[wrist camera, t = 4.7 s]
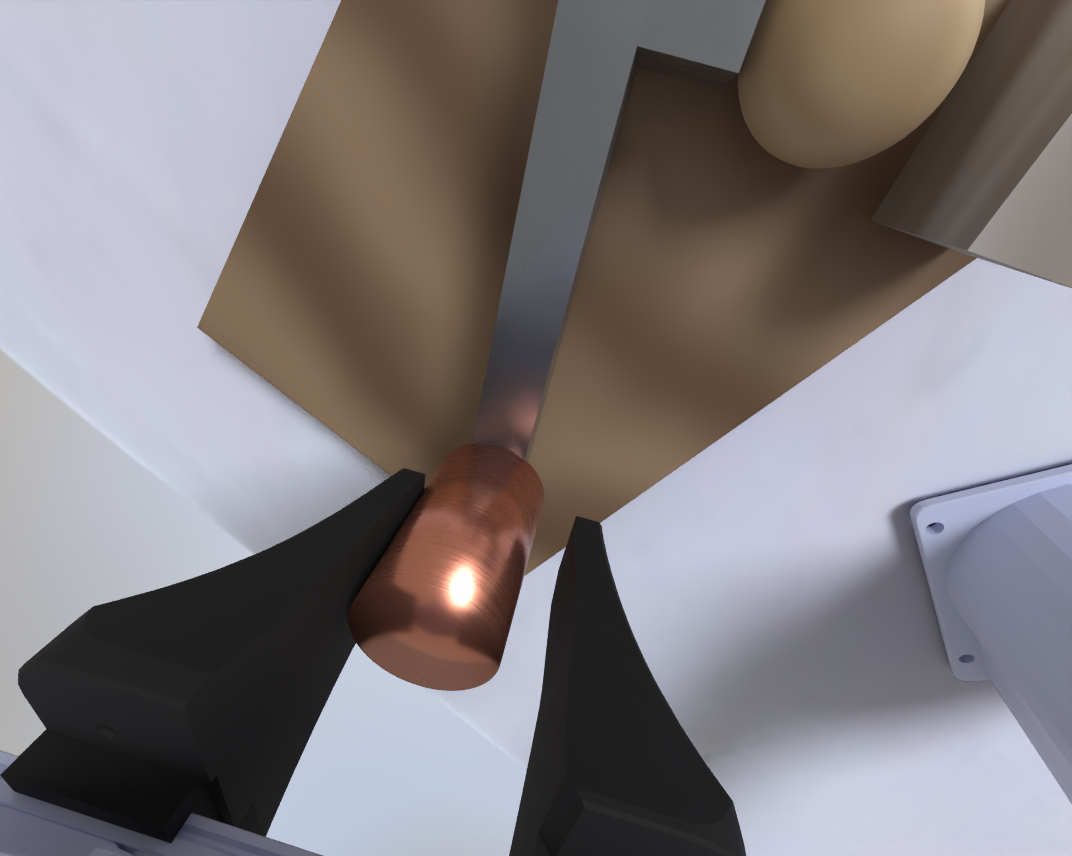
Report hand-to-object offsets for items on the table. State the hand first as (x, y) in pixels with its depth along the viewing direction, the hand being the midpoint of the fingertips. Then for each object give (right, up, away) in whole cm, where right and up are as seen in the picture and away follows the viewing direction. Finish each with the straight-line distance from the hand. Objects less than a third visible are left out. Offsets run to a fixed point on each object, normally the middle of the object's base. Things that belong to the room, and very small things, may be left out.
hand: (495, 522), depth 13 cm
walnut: (+7, +10, -3) cm, 12 cm away
